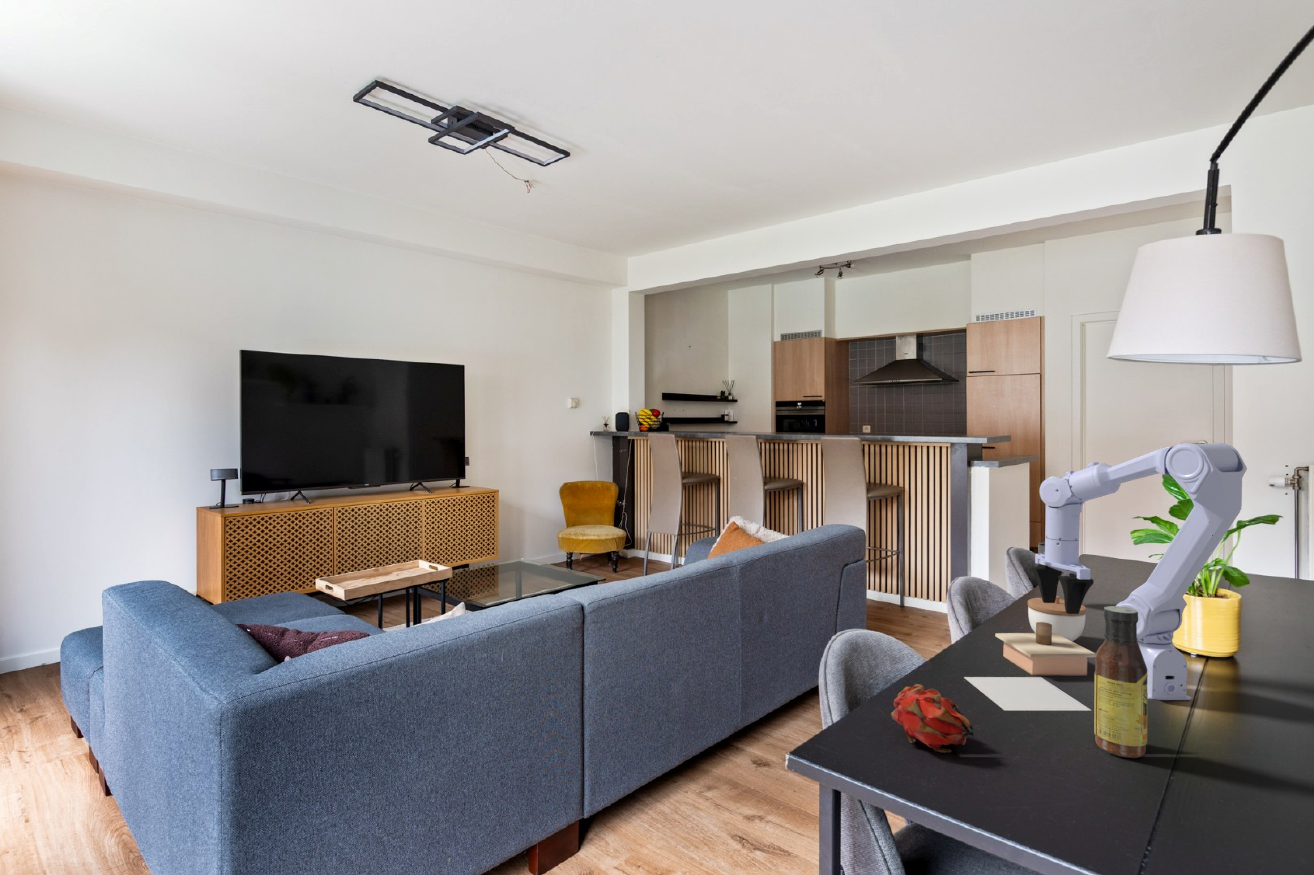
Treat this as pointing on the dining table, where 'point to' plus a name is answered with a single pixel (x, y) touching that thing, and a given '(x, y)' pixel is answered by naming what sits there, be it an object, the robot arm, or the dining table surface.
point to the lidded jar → (1056, 617)
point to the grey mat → (1025, 694)
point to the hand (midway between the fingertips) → (1060, 607)
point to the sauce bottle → (1120, 687)
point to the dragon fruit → (930, 718)
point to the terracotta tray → (1046, 663)
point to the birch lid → (1044, 643)
